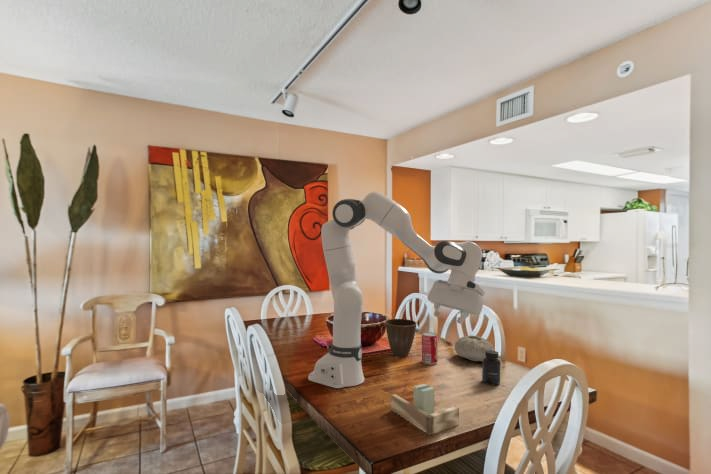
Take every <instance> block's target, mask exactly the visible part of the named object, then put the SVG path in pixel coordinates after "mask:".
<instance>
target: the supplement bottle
mask: <svg viewBox="0 0 711 474" xmlns="http://www.w3.org/2000/svg"><path fill="white" fill-rule="evenodd" d="M485 356H486V357H484V358H483V360H482V361H481V362H482V363H481V366H482V369H481V381H482V382H483V384H486V385H488V386H489V385H490V386H498V385H500V384H501V370H502V369H501V365H502V364H501V363H502V362H501V360H500V359H499V352H498V351H497V350H494V351H493V350H487V351H485Z"/></svg>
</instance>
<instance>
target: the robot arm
mask: <svg viewBox="0 0 711 474" xmlns="http://www.w3.org/2000/svg"><path fill="white" fill-rule="evenodd" d="M366 220H370V221H371V222H374V223H375V224H376V225H378V226H379V227H380V228H382V229H383V230H384V231H386V232H388V233H389V234H390V235H392V236H393V237H395V238H396V239H397V240H399V242H401V243H402V244H403V245H405V246H406V247H407V248H408V249H410V250H411V251H412V252H413V253H415V254H416V255H417V256H418V257H419V258H420V259H421V260H422V261H423V262H424V264H425V266H426V268H427V269H429V271H430V272H432V273H434V274H444V273H446V272H448V271H449V270H450V271H451V272H450V274H449V277H448V280H442V279H438V280H435V281H434V282H433V284H432V287H431V289H430V291H428V295H427V297H426V298H427V300H428V302H429V303H431V304H433V309H434V312H433V316H434V317H437V318H439V317H440V315H441V312H439V309H440V308H441V307H446V308H449V309H453V310H457V311H459V312H462V315H461V316H460V317H459V316H457V320H456V323H458V324H459V325H460V324H461V325H463V323H464V320H466V319H467V318H468V317H469V316H470V315H475V316H479V315H480V314H481V312H482V310H483V307H484V296H485V294H486V292H485V290H484V289H483V287H481V286H480V285H479V284H478V283H476V282H475V281H476V274H477V273H478V272H479V269H480V266H481V263H482V258H483V250H482V248H481V247H480V246H479V245H478V244H477V243H475V242H473V241H469V240H466V241H462V242H454V241H452V240H451V241H450V240H442V241H439V242H438V243H437V244H436V245H435V246H433V245H431V244H430V243H429V242H427V241H426V240H425V239H424V238H422V237H421V236H420V235H419V234H418V233H417V232H416V231H415V229H414V226H413V223H412V222H413V221H412V217H411V214H410V213H409V211H408V210H406V208H405V207H403V206H402V205H401V204H400V203H398V202H397V201H395V200H394V199H392V198H390V196H387V195H386V194H383V193H381V192H379V191H371V192H369V193H368V194H367V195H366V196H365V197H364V198H363V199H362V200H360V199H355V198H345V199H341V200H339V201H338V202H337V203H336V204H334V206H333V208H332V220H327V222H325V223H323V224H322V226H321V229H320V232H321V244H322V246H321V247H322V250H323V255H324V260H325V264H326V270H327V275H328V279H329V285H330V289H331V290H330V291H331V295H332V299H333V319H332V320H333V321H332V341H331V343H330V344H328V346H327V347H326V350H328V352H327V353H326V354H324V355H323V356H321V358H319V359H318V360H317V361H316V362H315V363H314V364H315V365H314V369H313V371H311V372H310V373H309V374H308V377H307V380H308V381H310V382H313V383H316V384H320V385H323V386H327V387H331V388H334V389H341V388H346V387H347V388H348V387H355V386H358V385H361V384H362V383H364V382H365V380H366V379H365V376H364V373H363V366H362V356H363V347H362V343H361V341H362V338H361V335H362V334H361V333H362V330H361V329H362V326H361V325H362V324H361V323H362V316H363V305H364V304H363V303H364V295H363V292H362V290H361V288H360V287H359V285H358V280H357V273H356V266H355V265H356V264H355V261H354V255H353V250H352V246H351V242H350V236H349V235H350V231H351V230H353V229H354V228H356V227H358V226H360V225H362V224H363V223H364V221H366Z"/></svg>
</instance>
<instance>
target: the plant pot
mask: <svg viewBox="0 0 711 474" xmlns="http://www.w3.org/2000/svg"><path fill="white" fill-rule="evenodd" d="M385 329H386V337H387V339H388V340H387V341H388V344H389V348H390V351H391V354H392V356H393V357H396V358H407V357H408V356H409V354H410V352H411V349H412V346H413V341H414V338H415V336H416V329H417V322H416V321H415V320H412V319H406V318H405V319H404V318H392V319H387V320H385Z"/></svg>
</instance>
